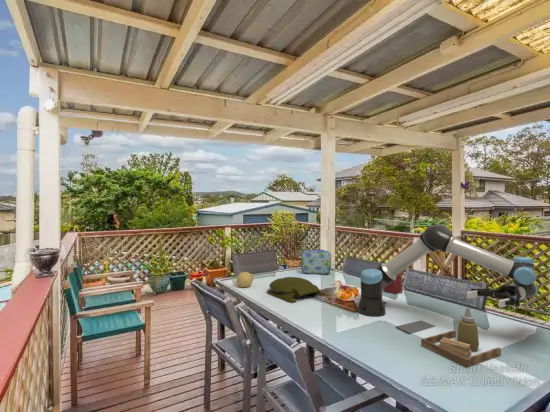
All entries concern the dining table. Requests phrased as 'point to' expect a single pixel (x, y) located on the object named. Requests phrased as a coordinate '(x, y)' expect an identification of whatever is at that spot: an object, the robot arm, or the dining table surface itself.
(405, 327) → the charcoal mat
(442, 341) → the offcut top
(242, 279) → the tan round lump
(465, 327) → the squeeze bottle
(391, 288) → the canister
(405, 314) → the dining table surface
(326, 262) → the lunch box
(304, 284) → the green turtle
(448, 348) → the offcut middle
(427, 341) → the walnut open frame
